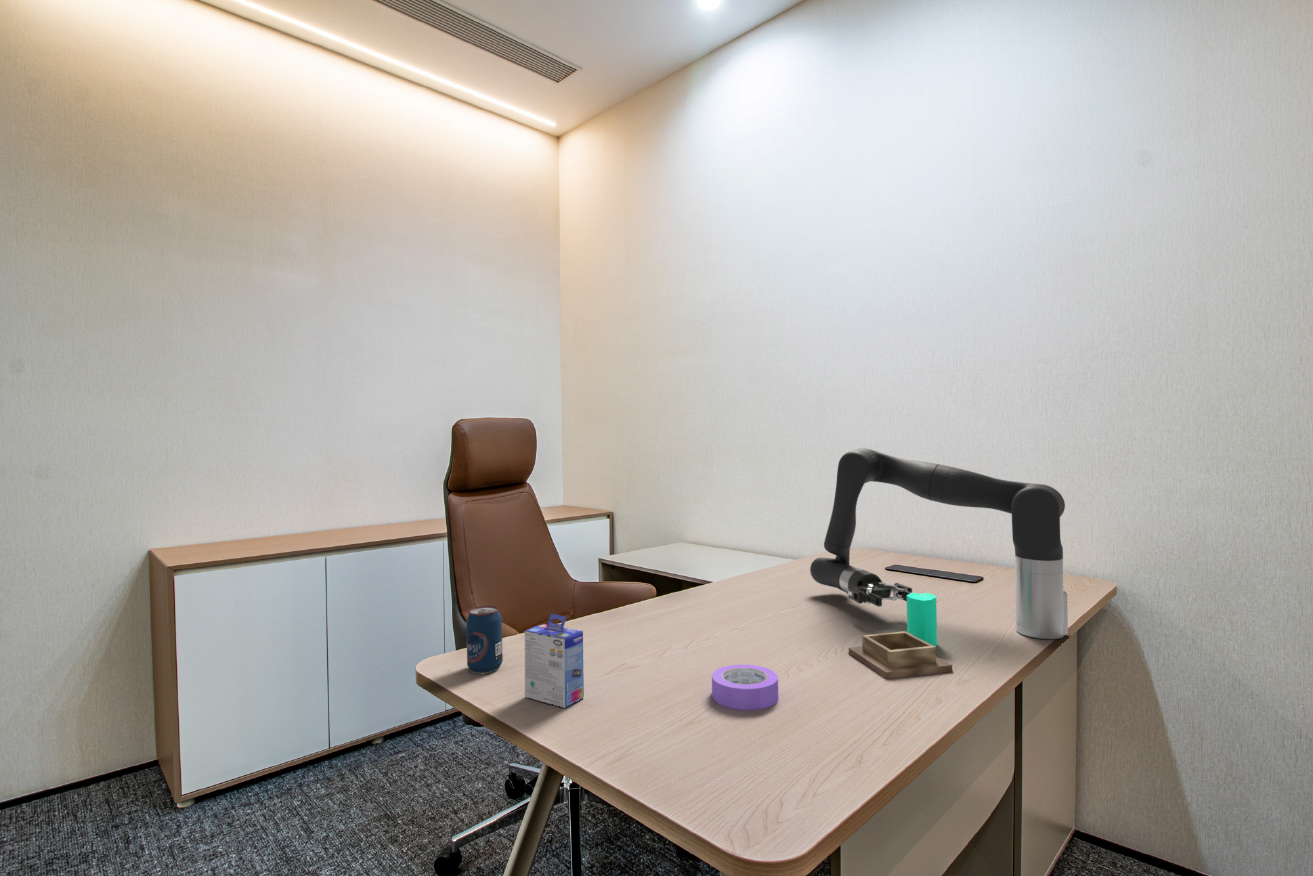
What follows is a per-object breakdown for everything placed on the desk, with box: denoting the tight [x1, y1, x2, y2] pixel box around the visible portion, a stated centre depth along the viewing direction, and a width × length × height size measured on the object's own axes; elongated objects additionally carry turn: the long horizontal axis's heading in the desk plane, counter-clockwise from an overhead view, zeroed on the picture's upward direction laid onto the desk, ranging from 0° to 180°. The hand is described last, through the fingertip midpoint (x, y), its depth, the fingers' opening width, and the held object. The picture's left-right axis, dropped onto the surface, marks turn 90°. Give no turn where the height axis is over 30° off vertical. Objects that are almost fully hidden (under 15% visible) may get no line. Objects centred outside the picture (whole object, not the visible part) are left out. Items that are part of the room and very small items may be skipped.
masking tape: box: [711, 663, 779, 711], centre depth 113 cm, size 12×12×4 cm
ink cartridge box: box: [524, 613, 585, 709], centre depth 114 cm, size 10×6×14 cm, turn 58°
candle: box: [906, 588, 938, 648], centre depth 137 cm, size 6×6×12 cm
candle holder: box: [848, 630, 953, 680], centre depth 127 cm, size 14×14×4 cm
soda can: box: [465, 605, 504, 675], centre depth 128 cm, size 7×7×12 cm
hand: (897, 600), depth 146 cm, fingers open, 8 cm apart
